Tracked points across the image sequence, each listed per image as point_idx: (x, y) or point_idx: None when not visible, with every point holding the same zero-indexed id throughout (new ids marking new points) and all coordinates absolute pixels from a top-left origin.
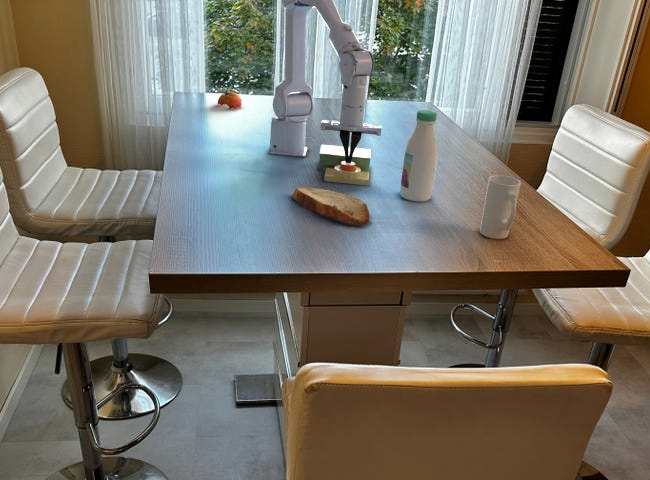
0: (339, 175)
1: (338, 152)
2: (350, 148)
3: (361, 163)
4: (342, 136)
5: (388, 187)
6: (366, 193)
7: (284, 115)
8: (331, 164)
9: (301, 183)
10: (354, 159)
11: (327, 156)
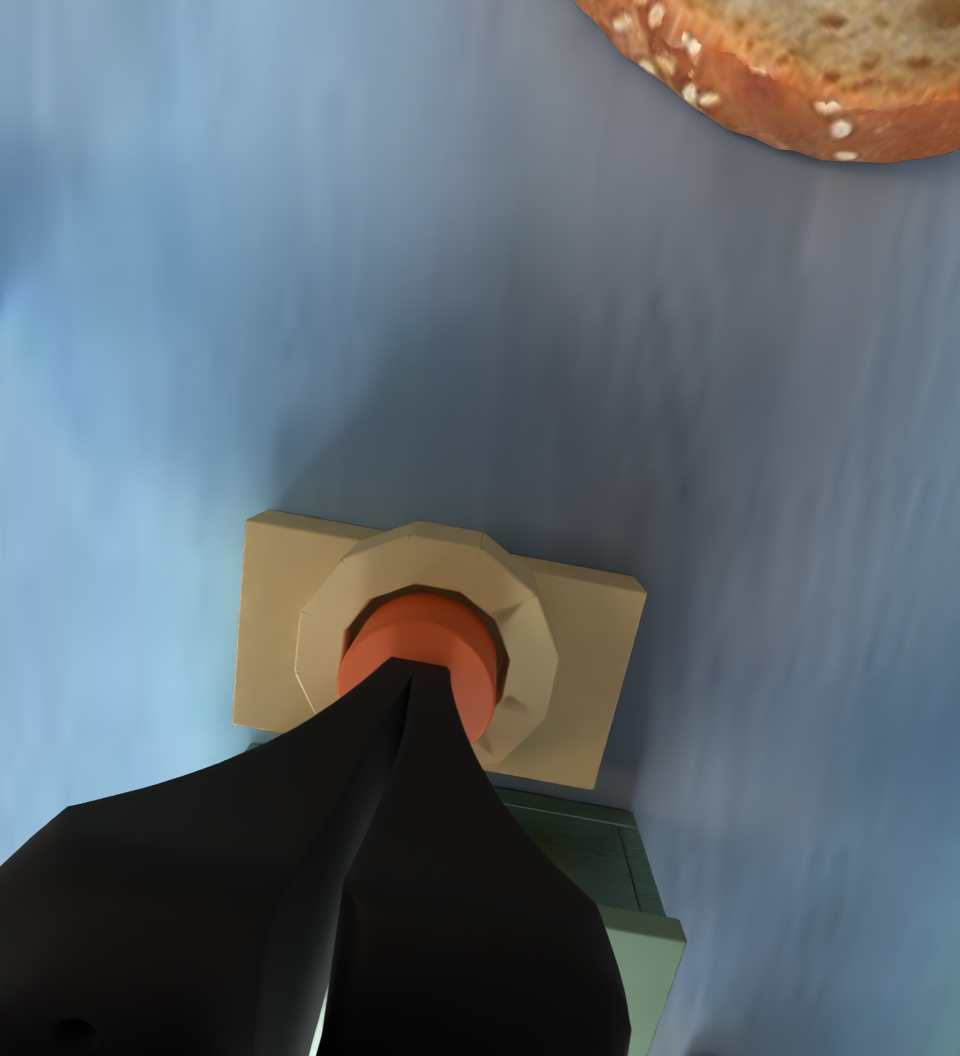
0: (516, 564)
1: None
2: (362, 746)
3: None
4: (556, 935)
5: (100, 482)
6: (298, 296)
7: None
8: (544, 843)
9: (850, 501)
10: None
11: None
